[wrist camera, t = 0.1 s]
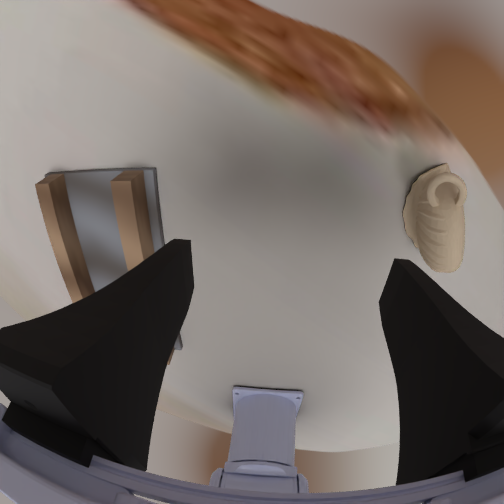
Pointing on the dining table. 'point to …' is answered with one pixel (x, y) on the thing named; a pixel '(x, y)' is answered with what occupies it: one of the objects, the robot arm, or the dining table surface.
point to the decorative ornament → (437, 218)
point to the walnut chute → (101, 225)
